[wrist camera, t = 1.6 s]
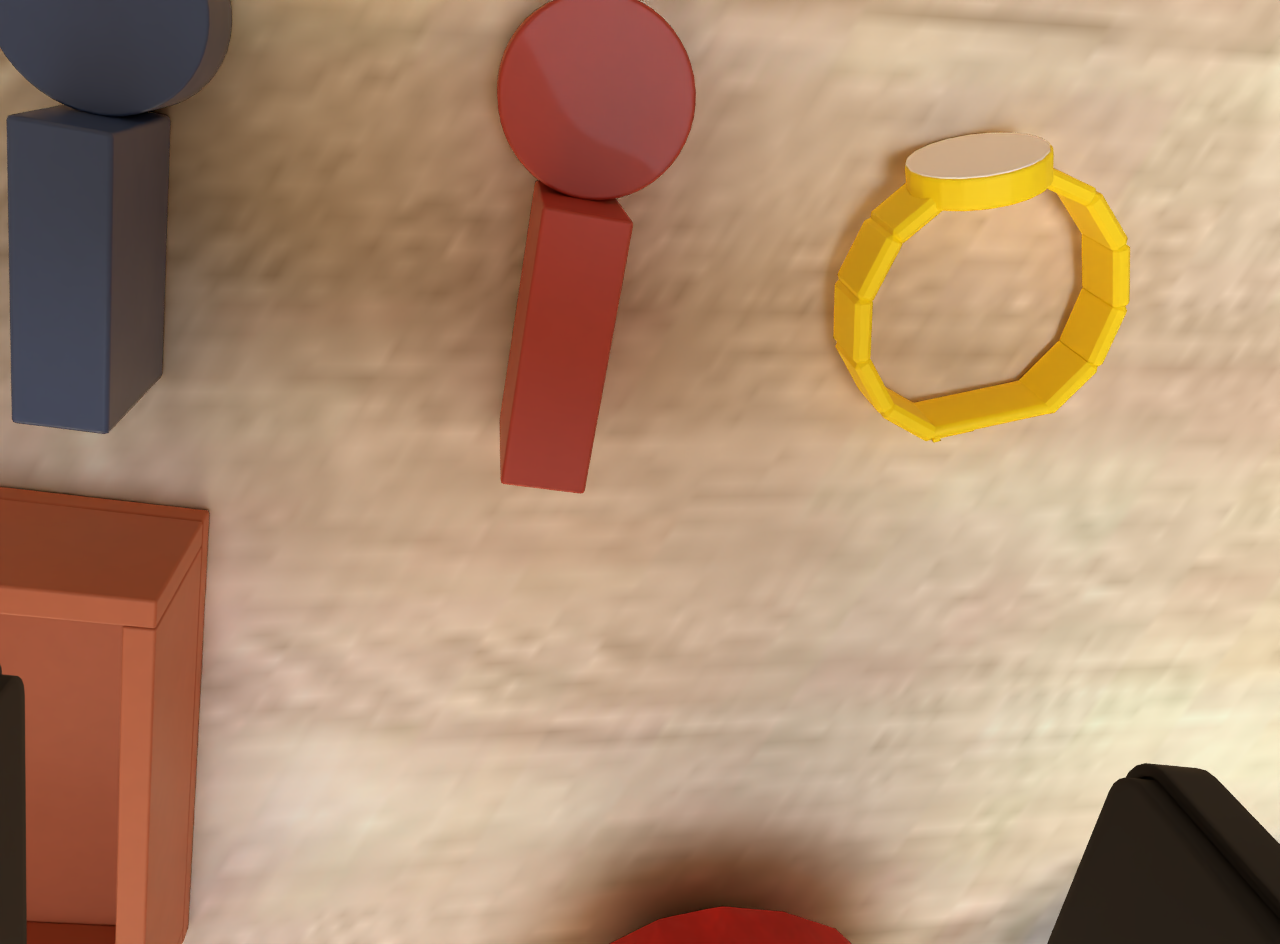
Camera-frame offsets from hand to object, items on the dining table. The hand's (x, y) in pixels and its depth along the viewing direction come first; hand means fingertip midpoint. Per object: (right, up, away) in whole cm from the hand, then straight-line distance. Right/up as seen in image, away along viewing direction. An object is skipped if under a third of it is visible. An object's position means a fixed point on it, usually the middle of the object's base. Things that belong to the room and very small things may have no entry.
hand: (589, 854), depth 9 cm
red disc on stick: (-1, +9, +13) cm, 15 cm away
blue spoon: (-9, +10, +11) cm, 18 cm away
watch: (+8, +4, +15) cm, 18 cm away
